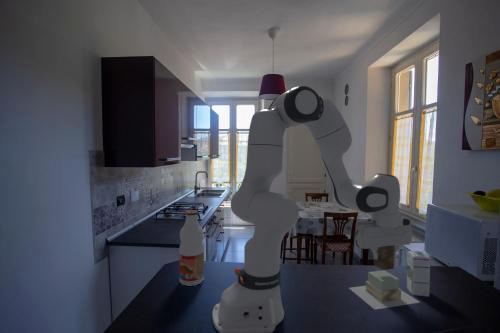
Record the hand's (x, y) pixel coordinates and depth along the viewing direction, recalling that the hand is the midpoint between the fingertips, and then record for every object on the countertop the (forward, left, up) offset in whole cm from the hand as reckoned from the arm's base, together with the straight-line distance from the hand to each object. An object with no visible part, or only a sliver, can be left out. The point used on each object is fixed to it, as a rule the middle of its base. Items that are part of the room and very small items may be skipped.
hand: (383, 258), depth 93 cm
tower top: (0, 0, -10) cm, 10 cm away
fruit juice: (-66, +26, -14) cm, 72 cm away
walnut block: (0, 0, -3) cm, 3 cm away
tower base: (0, 0, -13) cm, 13 cm away
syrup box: (+14, -1, -14) cm, 20 cm away
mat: (0, 0, -14) cm, 14 cm away
